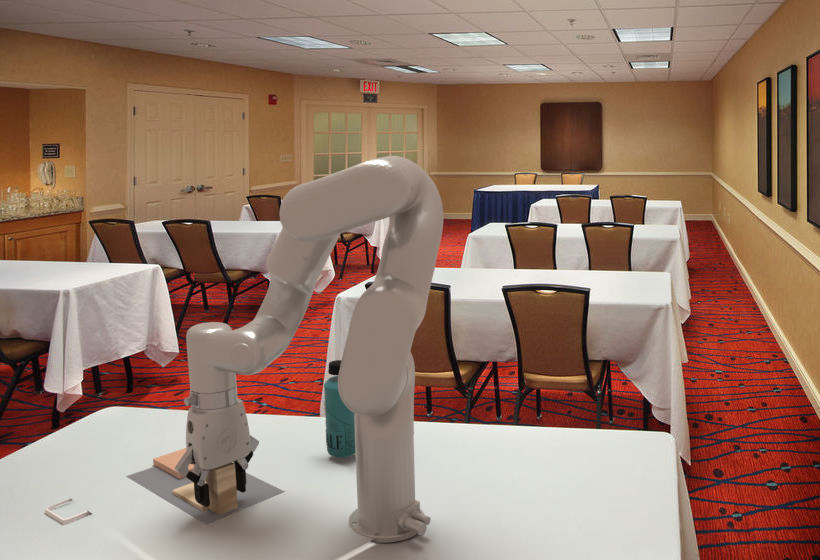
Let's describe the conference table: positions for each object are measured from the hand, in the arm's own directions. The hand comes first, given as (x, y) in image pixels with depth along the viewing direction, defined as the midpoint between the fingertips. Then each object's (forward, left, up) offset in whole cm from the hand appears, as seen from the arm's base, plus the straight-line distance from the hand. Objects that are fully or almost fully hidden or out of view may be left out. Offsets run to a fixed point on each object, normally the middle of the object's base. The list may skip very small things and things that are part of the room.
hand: (221, 496), depth 135 cm
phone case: (+21, +13, -4) cm, 25 cm away
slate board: (+11, -3, -3) cm, 12 cm away
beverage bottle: (+2, -29, -3) cm, 29 cm away
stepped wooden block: (+5, 0, -2) cm, 5 cm away
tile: (+16, -5, -1) cm, 17 cm away
